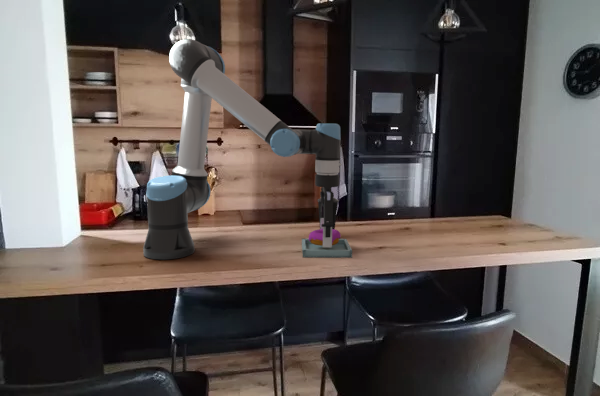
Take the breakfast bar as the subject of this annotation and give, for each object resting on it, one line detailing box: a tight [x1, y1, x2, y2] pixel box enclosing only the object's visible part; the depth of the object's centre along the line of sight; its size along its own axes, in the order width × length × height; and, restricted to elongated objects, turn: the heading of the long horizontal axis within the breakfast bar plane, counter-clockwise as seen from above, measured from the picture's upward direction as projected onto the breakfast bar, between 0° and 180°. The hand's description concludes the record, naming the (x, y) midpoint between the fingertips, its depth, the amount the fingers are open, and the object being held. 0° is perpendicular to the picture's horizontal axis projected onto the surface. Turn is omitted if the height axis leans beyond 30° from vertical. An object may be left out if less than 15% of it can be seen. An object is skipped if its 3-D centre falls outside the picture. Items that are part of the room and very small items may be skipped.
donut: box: [308, 228, 342, 246], centre depth 133 cm, size 10×10×5 cm
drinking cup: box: [317, 197, 340, 230], centre depth 150 cm, size 8×8×20 cm
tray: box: [301, 238, 353, 259], centre depth 134 cm, size 15×14×2 cm
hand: (325, 242), depth 134 cm, fingers closed on donut, 11 cm apart
